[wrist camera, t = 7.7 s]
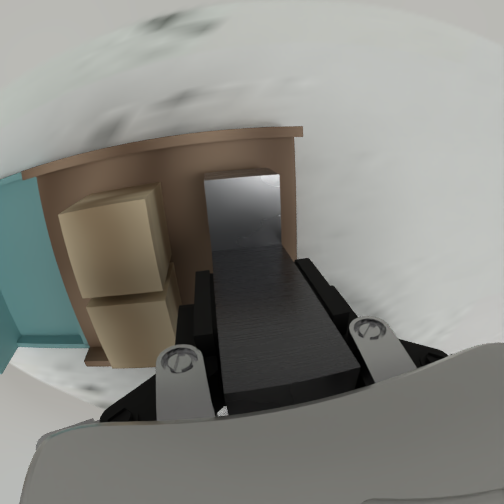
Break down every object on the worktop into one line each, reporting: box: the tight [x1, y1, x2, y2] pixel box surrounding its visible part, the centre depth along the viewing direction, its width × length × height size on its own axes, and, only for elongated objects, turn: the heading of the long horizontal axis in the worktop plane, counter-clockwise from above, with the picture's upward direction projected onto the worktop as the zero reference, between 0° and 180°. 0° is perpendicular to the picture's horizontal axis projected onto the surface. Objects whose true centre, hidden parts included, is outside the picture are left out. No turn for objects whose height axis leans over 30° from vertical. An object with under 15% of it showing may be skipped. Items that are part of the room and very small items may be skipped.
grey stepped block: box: [204, 168, 361, 415], centre depth 11 cm, size 3×9×10 cm, turn 4°
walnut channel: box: [21, 126, 303, 366], centre depth 16 cm, size 14×13×4 cm
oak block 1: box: [58, 182, 172, 298], centre depth 13 cm, size 4×4×4 cm
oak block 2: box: [86, 262, 182, 368], centre depth 15 cm, size 4×4×4 cm
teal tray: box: [0, 172, 90, 374], centre depth 14 cm, size 8×13×5 cm, turn 4°
